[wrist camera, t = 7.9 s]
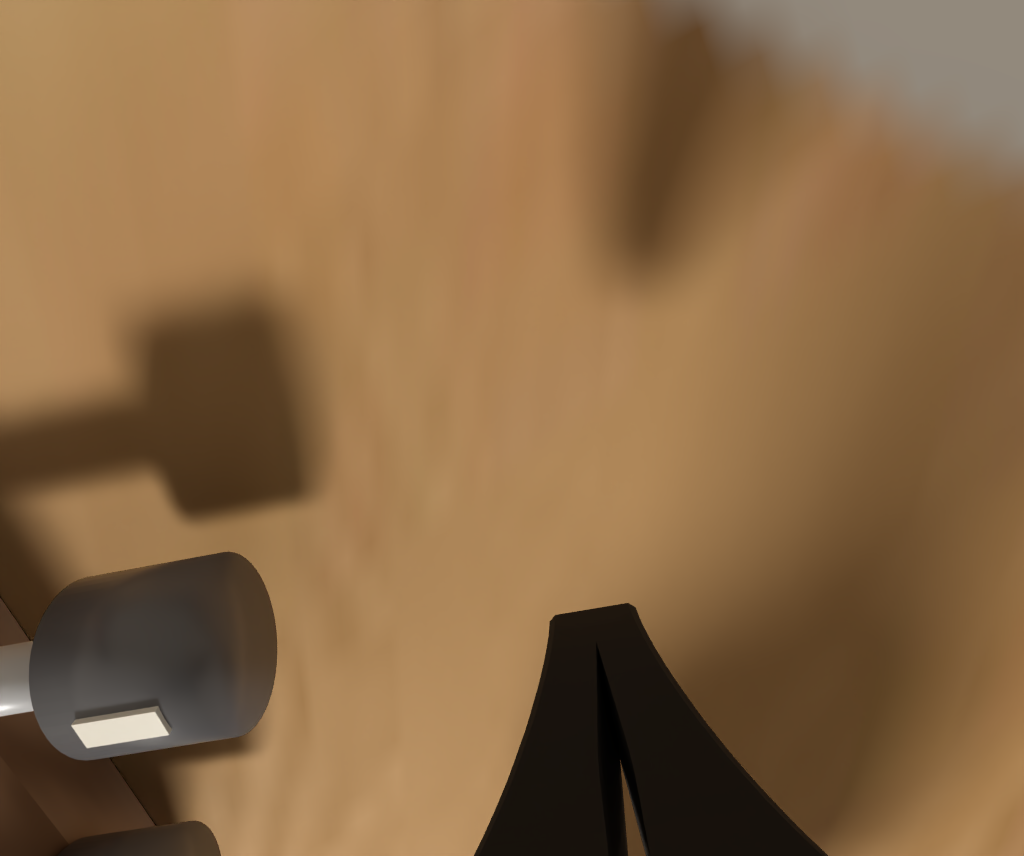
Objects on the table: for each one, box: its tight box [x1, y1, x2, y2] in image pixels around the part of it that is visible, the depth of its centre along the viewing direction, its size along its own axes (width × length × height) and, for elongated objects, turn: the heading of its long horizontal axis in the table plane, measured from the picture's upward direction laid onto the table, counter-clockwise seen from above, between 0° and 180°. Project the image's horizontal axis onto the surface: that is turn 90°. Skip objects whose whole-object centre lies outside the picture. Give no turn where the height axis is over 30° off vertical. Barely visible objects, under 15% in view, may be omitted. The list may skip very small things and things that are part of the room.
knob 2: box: [0, 552, 277, 760], centre depth 14 cm, size 4×9×4 cm, turn 102°
